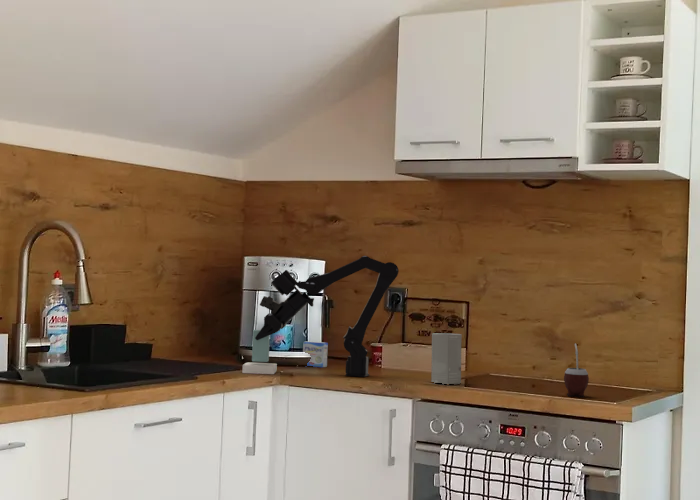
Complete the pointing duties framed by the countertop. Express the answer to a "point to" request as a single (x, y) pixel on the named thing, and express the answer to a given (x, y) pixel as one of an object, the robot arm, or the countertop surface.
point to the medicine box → (316, 353)
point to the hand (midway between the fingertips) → (256, 338)
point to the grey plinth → (259, 368)
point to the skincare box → (446, 358)
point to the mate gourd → (576, 380)
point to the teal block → (260, 348)
